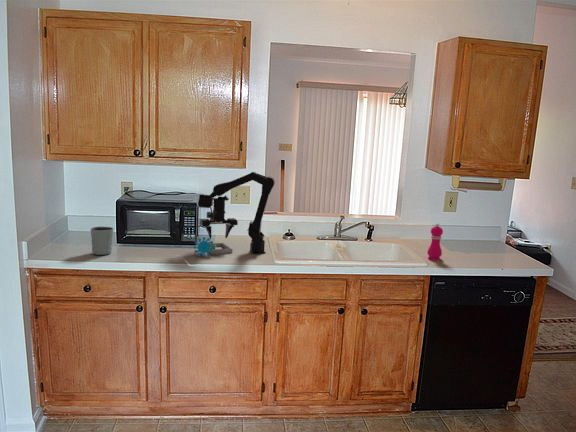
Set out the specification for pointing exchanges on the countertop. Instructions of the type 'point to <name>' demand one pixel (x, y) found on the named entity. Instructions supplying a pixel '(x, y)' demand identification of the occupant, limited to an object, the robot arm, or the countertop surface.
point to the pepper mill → (435, 243)
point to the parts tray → (221, 251)
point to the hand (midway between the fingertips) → (218, 238)
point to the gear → (204, 246)
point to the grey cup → (101, 240)
